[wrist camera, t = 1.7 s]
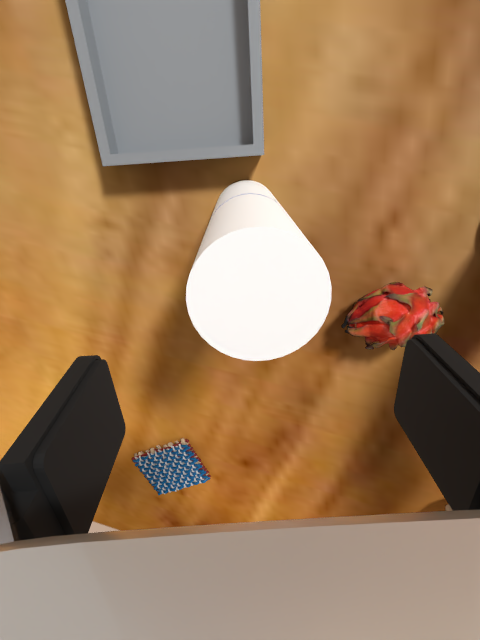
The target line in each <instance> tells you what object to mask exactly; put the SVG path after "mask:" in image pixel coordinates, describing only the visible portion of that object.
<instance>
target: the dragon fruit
mask: <svg viewBox="0 0 480 640" xmlns="http://www.w3.org/2000/svg"><path fill="white" fill-rule="evenodd" d="M431 294H432V289H430V288H427V287H425V286H424V287H422V288H419V289H417V290H411V289H409V288H408V287H406V286H405V285H404V284H403V283H400V282H392V283H390V284H388V285H386V286H384V287H382V288H381V289H378V290H375V291H373V292H371V293H369V294H367V295H365V296H364V297H363V298H361V299H359V300H358V301H357V302H355V303H354V305H353V306H354V308H353V309H352V310H351V311H350V312H349V313H348V315H347V316H346V318H345V321H344V324H342V326H341V327H342V328H344V327H345V326H346V325H349V326H347V330H345V332H346V333H349V334H351V335H352V336H358V337H360V336H364V337H365V342H366V345H367V347H365V348H366V349H374V348H372V347H376V348H378V347H381V346H382V345H384V344H387V343H389V347H390V349H391V350H395V349H396V347H397V346H398V345H399V346H401V347H405V346H406V342H407V341H408V340H410V339H412V337H413V336H414V335H415V334H431V333H434V334H436V333H437V331H438V329H439V328H441V326H442V325H444V318H443V316H442V315H443V311H442V309H441V307H439V303H438V302H430V299H429V298H428V297H427V295H428V296H430V295H431ZM439 311H440V312H441V314H442V315H440V314H437V313H438V312H439ZM347 323H348V324H347ZM377 341H379V342H380V343H373V342H377ZM371 343H373V344H371ZM370 344H371V345H370Z"/></svg>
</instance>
